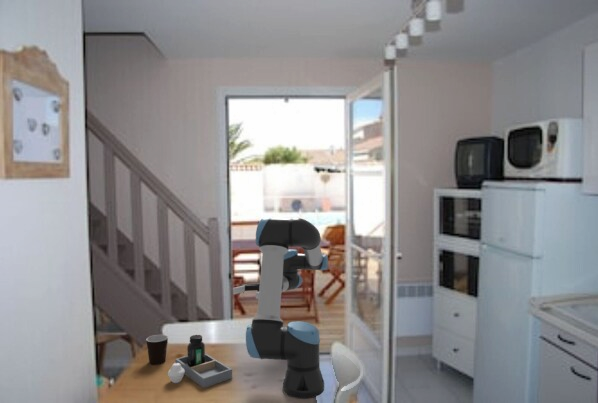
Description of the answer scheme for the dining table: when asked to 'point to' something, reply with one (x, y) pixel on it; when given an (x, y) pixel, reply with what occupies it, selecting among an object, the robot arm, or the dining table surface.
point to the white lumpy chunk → (176, 373)
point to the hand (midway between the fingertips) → (244, 293)
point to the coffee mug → (157, 349)
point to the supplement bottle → (196, 351)
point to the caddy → (206, 371)
